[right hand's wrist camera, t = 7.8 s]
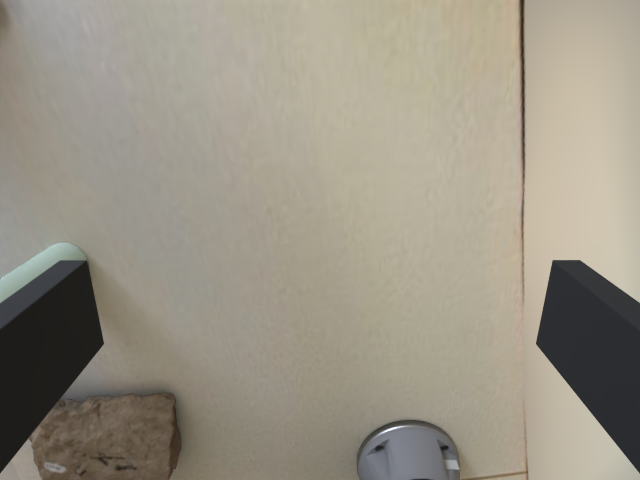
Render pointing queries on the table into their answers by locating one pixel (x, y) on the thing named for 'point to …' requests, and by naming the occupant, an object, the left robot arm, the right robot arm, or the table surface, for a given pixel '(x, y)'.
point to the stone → (108, 439)
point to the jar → (38, 267)
